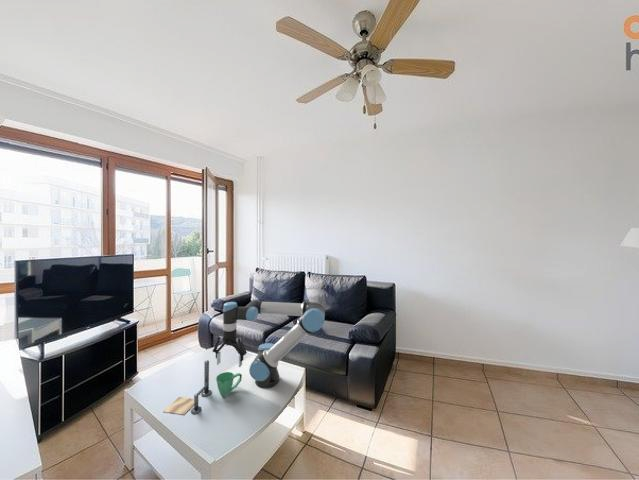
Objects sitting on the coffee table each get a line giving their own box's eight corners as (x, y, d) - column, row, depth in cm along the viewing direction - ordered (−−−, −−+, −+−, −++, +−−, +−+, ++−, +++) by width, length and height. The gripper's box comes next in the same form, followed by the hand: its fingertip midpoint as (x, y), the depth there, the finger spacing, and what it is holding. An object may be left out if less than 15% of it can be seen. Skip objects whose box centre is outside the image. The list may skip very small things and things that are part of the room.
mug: (218, 401, 145) (219, 383, 144) (213, 392, 152) (214, 375, 152) (244, 391, 153) (244, 375, 153) (238, 383, 161) (238, 367, 161)
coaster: (198, 400, 145) (198, 399, 145) (184, 415, 133) (184, 414, 133) (179, 397, 147) (179, 396, 147) (163, 412, 135) (163, 411, 135)
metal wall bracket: (217, 391, 153) (218, 360, 152) (197, 414, 134) (197, 378, 133) (204, 390, 154) (205, 358, 153) (183, 412, 135) (183, 376, 134)
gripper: (252, 328, 153) (252, 363, 154) (213, 325, 157) (213, 359, 158) (247, 333, 146) (246, 370, 147) (206, 329, 150) (206, 365, 151)
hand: (229, 365), depth 152 cm, fingers open, 13 cm apart
